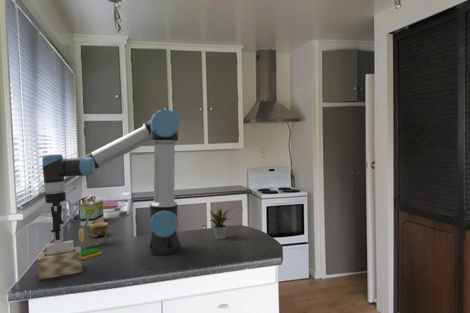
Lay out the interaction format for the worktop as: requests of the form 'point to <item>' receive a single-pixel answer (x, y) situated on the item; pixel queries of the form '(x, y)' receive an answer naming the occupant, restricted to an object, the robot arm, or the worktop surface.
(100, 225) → the wall sconce
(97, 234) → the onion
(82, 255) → the dish sponge
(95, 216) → the tea box
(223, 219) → the house plant
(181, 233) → the worktop surface
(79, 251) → the camouflage slotted box
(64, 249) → the grey flat block
